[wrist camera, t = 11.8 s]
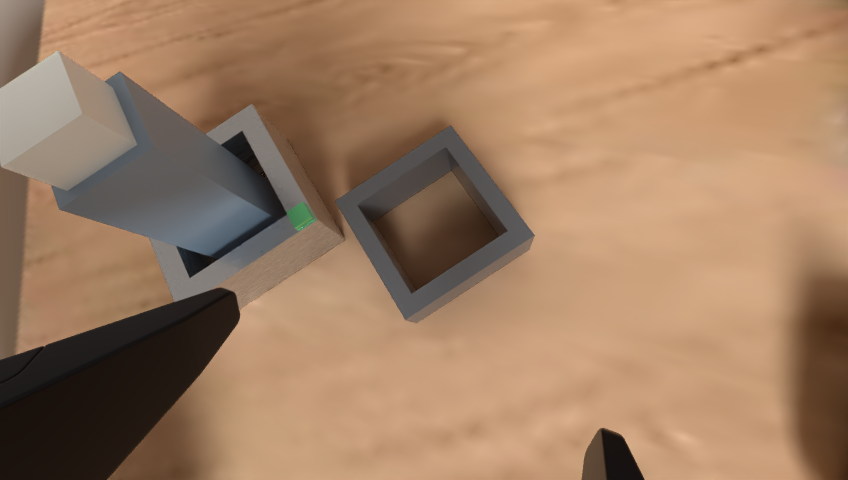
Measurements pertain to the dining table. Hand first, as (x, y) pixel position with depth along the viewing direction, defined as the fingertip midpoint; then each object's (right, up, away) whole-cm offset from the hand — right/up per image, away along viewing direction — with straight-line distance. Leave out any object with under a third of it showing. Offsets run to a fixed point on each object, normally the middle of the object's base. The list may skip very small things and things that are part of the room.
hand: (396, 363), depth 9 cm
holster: (+1, +3, +14) cm, 14 cm away
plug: (-10, +4, +16) cm, 19 cm away
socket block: (-10, +4, +16) cm, 19 cm away
